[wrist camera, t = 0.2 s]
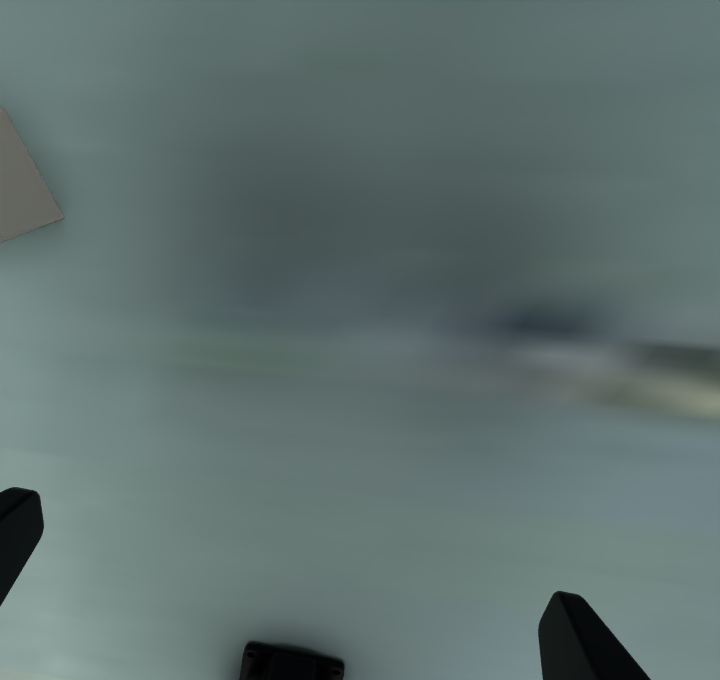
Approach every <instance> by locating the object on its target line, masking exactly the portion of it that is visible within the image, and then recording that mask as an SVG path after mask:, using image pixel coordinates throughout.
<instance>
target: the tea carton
mask: <svg viewBox="0 0 720 680" xmlns="http://www.w3.org/2000/svg"><path fill="white" fill-rule="evenodd" d="M63 218H64V216H63V215H62V213H61V211H60V209H59V207H58V206H57V204H56V202H55V200H54V198H53V197H52V195H51V193H50V191H49V189H48V188H47V186H46V184H45V182H44V181H43V179H42V177H41V175H40V173H39V172H38V170H37V168H36V166H35V164H34V163H33V161H32V159H31V157H30V155H29V154H28V152H27V150H26V148H25V146H24V145H23V143H22V141H21V139H20V137H19V136H18V134H17V132H16V130H15V128H14V127H13V125H12V123H11V121H10V119H9V118H8V116H7V114H6V112H5V110H4V109H3V108H0V243H1V242H3V241H6V240H8V239H11V238H14V237H16V236H19V235H21V234H24V233H27V232H29V231H32V230H34V229H37V228H40V227H42V226H45V225H47V224H50V223H53V222H55V221H58V220H61V219H63Z"/></svg>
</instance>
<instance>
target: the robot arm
mask: <svg viewBox="0 0 720 680" xmlns="http://www.w3.org/2000/svg"><path fill="white" fill-rule="evenodd" d="M43 529H44V521H43V514H42V507H41V500H40V495H39V494H38V493H37V492H36V491H34V490H29V489H24V488H19V487H12V488H9V489H6V490H4V491H2V492H0V606H1V604H2V603H3V601H4V599H5V598H6V596H7V594H8V593H9V591H10V589H11V588H12V586H13V584H14V583H15V581H16V579H17V578H18V576H19V574H20V572H21V571H22V569H23V567H24V566H25V564H26V562H27V561H28V559H29V557H30V556H31V554H32V552H33V551H34V549H35V547H36V546H37V544H38V542H39V540H40V538H41V536H42V533H43ZM538 636H539V646H540V656H541V666H542V675H543V680H651V679H650V678H649V677H648V676H647V674H646V673H645V672H644V671H643V669H642V668H641V667H640V666H639V665H638V663H637V662H636V661H635V660H634V659H633V657H632V656H631V655H630V654H629V653H628V651H627V650H626V649H625V648H624V646H623V645H622V644H621V643H620V642H619V640H618V639H617V638H616V637H615V636H614V634H613V633H612V632H611V631H610V630H609V628H608V627H607V626H606V625H605V623H604V622H603V621H602V620H601V619H600V617H599V616H598V615H597V614H596V613H595V611H594V610H593V609H592V608H591V607H590V605H589V604H588V603H587V602H586V600H585V599H584V598H582V597H581V596H580V595H577V594H573V593H568V592H563V591H557V592H555V593H554V594H553V596H552V597H551V599H550V601H549V603H548V605H547V607H546V609H545V611H544V613H543V615H542V617H541V620H540V623H539V629H538ZM344 670H345V666H344V664H343V663H342V662H339V661H334V660H330V659H325V658H320V657H315V656H310V655H305V654H300V653H296V652H291V651H286V650H281V649H276V648H271V647H266V646H261V645H257V644H248V645H246V647H245V650H244V653H243V659H242V666H241V673H240V679H239V680H343V676H344Z"/></svg>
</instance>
